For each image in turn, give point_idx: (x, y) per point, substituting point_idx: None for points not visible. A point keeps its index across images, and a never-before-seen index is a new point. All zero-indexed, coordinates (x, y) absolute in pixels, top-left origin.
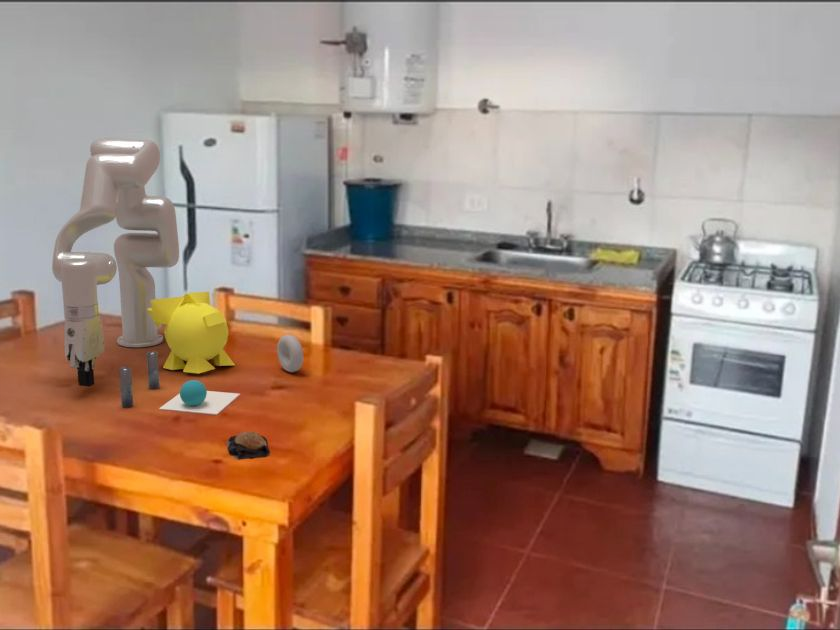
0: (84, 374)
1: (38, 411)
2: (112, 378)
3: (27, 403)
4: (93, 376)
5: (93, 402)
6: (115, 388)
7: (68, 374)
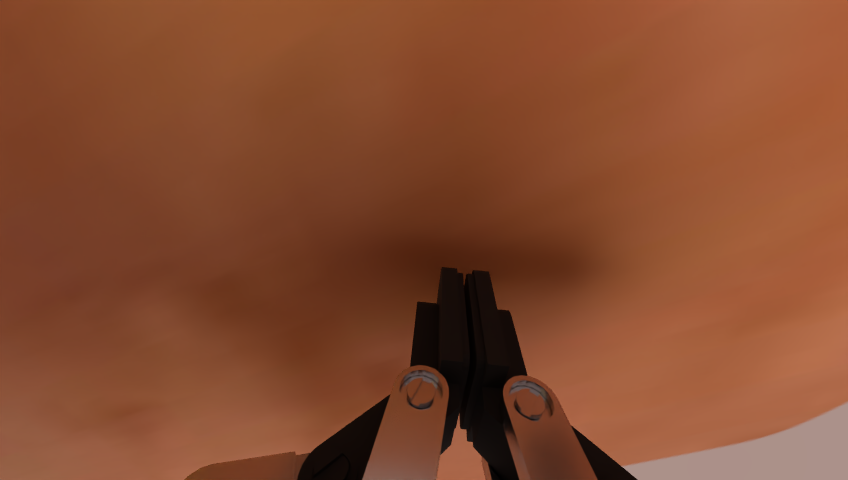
0: (521, 371)
1: (772, 364)
2: (202, 232)
3: (635, 423)
4: (450, 306)
5: (683, 157)
6: (367, 130)
7: (257, 412)
